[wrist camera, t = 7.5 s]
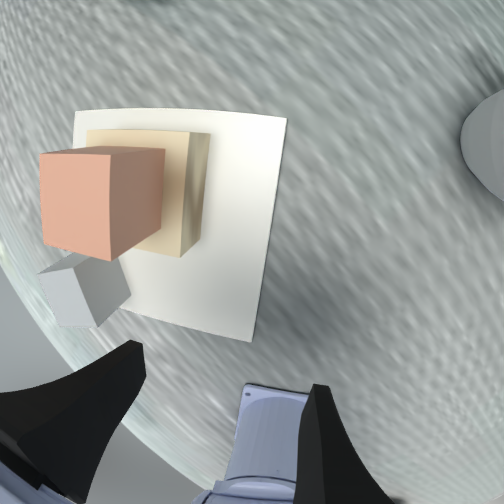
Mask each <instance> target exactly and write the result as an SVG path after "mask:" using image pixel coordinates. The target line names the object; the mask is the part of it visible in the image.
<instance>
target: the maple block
mask: <svg viewBox="0 0 504 504" xmlns="http://www.w3.org/2000/svg"><path fill="white" fill-rule="evenodd" d="M210 135H211V134H209V133H198V132H184V131H167V130H142V129H98V130H87V136H86V147H93V146H127V147H148V148H163V149H165V161H164V175H163V190H162V210H161V229H160V230H158V231H157V232H155V233H153V234H152V235H150V236H149V237H147V238H146V239H144V240H143V241H141V242H140V243H138V244H137V245H135V246H134V247H132V248H135V249H140V250H144V251H149V252H154V253H158V254H163V255H168V256H172V257H177V258H181V257H182V256H183V255H184V254H185V253H186V252H187V251H188V250H189V249H190V248H191V247H192V246H193V245H194V244H196V243H197V242H198V241H199V240H200V235H201V222H202V211H203V200H204V189H205V179H206V170H207V160H208V151H209V143H210Z"/></svg>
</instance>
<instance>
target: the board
mask: <svg viewBox="0 0 504 504" xmlns="http://www.w3.org/2000/svg"><path fill="white" fill-rule="evenodd" d="M286 125H287V118H280V117H273V116H265V115H257V114H248V113H238V112H227V111H215V110H199V109H175V108H124V109H101V110H86V111H75V122H74V135H73V149H76V148H84V147H86V136H87V130H98V129H142V130H167V131H184V132H198V133H209V134H211V135H210V143H209V151H208V160H207V170H206V179H205V189H204V200H203V211H202V222H201V235H200V240H199V241H198V242H197V243H196V244H194V245H193V246H192V247H191V248H190V249H189V250H188V251H187V252H186V253H185V254H184V255H183V256H182V257H181V258H177V257H172V256H168V255H163V254H158V253H154V252H149V251H144V250H140V249H135V248H131V249H129V250H128V251H126V252H125V253H123V254H122V255H120V256H119V257H118V259H119V262H120V265H121V267H122V270H123V273H124V276H125V279H126V281H127V284H128V287H129V290H130V292H131V296H130V297H129V298H128V299H127V300H126V301H125V302H124V303H123V304H122V305H121V306H120V307H119V308H121V309H125V310H128V311H131V312H134V313H138V314H141V315H144V316H148V317H151V318H155V319H158V320H162V321H165V322H169V323H172V324H176V325H180V326H184V327H187V328H191V329H195V330H199V331H203V332H207V333H211V334H215V335H219V336H224V337H228V338H232V339H237V340H241V341H246V342H252V338H253V333H254V327H255V321H256V315H257V309H258V303H259V297H260V291H261V285H262V279H263V273H264V267H265V261H266V255H267V249H268V242H269V236H270V230H271V224H272V217H273V211H274V204H275V198H276V192H277V185H278V178H279V172H280V165H281V159H282V152H283V145H284V138H285V132H286Z"/></svg>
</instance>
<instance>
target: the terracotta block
mask: <svg viewBox="0 0 504 504" xmlns="http://www.w3.org/2000/svg"><path fill="white" fill-rule="evenodd" d="M164 161H165V149H163V148H148V147H127V146H93V147H84V148H76V149H68V150H61V151H54V152H48V153H42V154H40V202H41V217H42V229H43V239H44V244H46V245H50V246H53V247H57V248H61V249H64V250H68V251H72V252H75V253H79V254H83V255H87V256H91V257H95V258H98V259H102V260H106V261H110V262H111V261H113V260H114V259H116V258H117V257H119V256H120V255H122V254H123V253H125V252H126V251H128V250H129V249H131V248H132V247H134V246H135V245H137V244H138V243H140V242H141V241H143V240H144V239H146V238H147V237H149V236H150V235H152V234H153V233H155V232H157V231H158V230H160V229H161V210H162V190H163V175H164Z"/></svg>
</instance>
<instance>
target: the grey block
mask: <svg viewBox="0 0 504 504" xmlns="http://www.w3.org/2000/svg"><path fill="white" fill-rule="evenodd" d="M37 276H38V279H39V281H40V284H41V286H42V289H43V291H44V293H45V296H46V298H47V301H48V303H49V305H50V307H51V310H52V312H53V314H54V316H55V318H56V320H57V323H58V325H59V327H73V328H98V327H99V326H100V325H101V324H102V323H103V322H104V321H105V320H106V319H107V318H108V317H109V316H110V315H111V314H112V313H113V312H114V311H115V310H116V309H118V308H119V307H120V306H121V305H122V304H123V303H124V302H125V301H126V300H127V299H128V298H129V297H130V296H131V292H130V290H129V287H128V284H127V281H126V279H125V276H124V273H123V270H122V267H121V265H120V262H119V259H118V257H117V258H116V259H114V260H113V261H111V262H110V261H106V260H102V259H98V258H95V257H91V256H87V255H83V254H79V253H75V252H74V253H72V254H70V255H69V256H67V257H65V258H63V259H62V260H60V261H58V262H57V263H55V264H53V265H52V266H50V267H48V268H47V269H45V270H43V271H42V272H40V273H38V274H37Z"/></svg>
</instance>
